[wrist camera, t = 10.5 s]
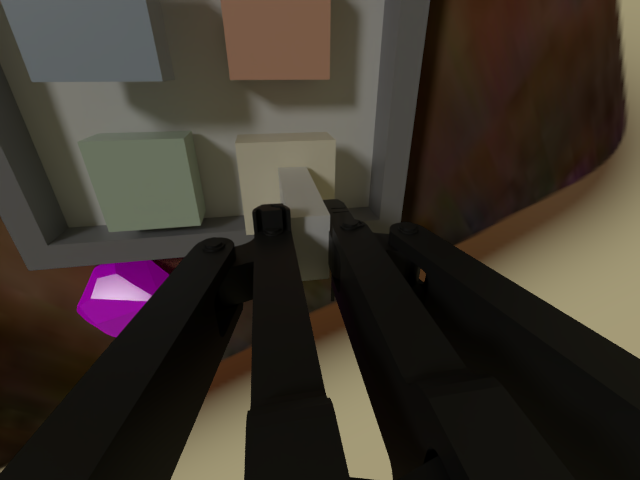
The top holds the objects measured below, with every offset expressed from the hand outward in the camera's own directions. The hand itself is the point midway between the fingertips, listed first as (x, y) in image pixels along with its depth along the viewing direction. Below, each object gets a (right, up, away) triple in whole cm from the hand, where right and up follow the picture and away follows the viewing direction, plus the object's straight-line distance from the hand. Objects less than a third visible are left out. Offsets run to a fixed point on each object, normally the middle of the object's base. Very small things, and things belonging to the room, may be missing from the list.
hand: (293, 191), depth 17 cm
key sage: (-9, +1, +3) cm, 9 cm away
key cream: (-1, +1, +2) cm, 3 cm away
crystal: (-13, -6, +7) cm, 16 cm away
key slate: (-9, +8, -3) cm, 12 cm away
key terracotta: (-1, +9, 0) cm, 9 cm away
